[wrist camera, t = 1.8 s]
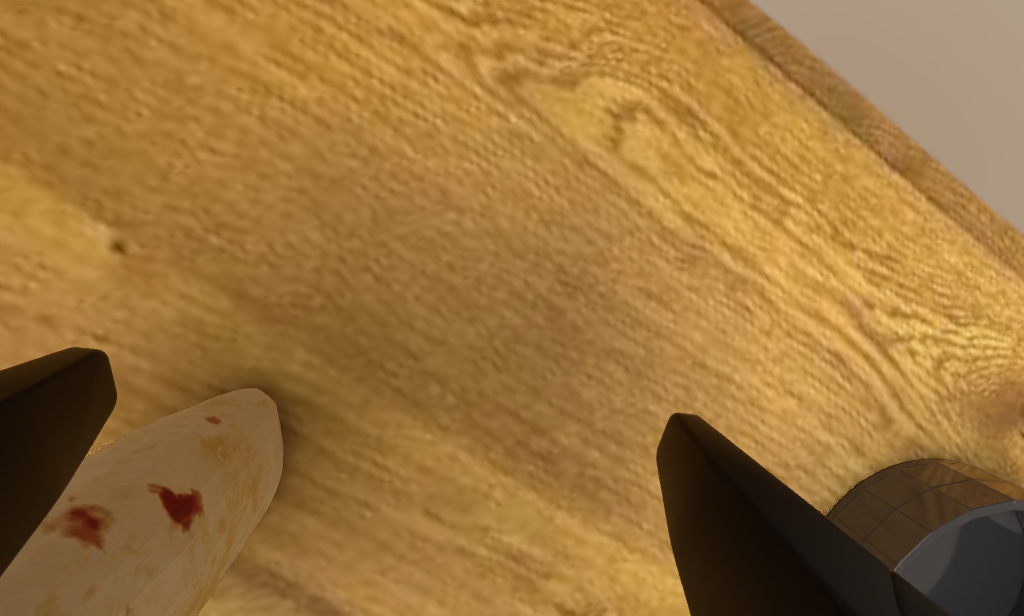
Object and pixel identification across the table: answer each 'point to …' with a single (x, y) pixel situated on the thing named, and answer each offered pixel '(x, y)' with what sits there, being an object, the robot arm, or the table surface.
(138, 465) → the food model
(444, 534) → the table surface
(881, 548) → the pan
